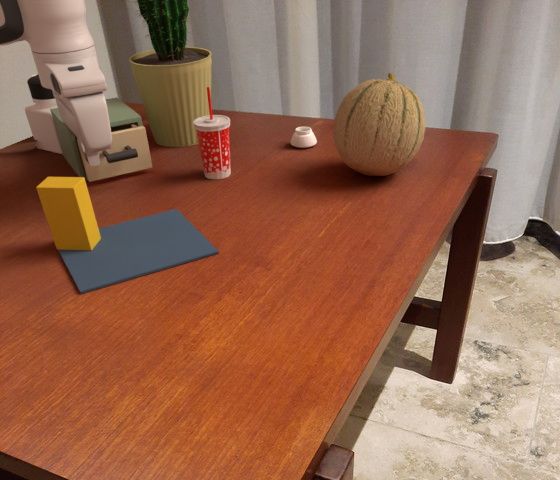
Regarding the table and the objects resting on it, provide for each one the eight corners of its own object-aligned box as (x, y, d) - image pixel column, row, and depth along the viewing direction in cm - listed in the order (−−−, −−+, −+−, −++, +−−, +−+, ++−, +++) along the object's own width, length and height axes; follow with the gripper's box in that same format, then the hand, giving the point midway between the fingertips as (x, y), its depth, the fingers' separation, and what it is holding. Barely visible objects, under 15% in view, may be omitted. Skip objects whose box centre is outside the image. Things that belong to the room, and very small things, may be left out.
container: (92, 142, 112) (74, 71, 104) (62, 155, 107) (40, 81, 99) (66, 137, 115) (46, 67, 107) (36, 148, 111) (13, 77, 102)
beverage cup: (227, 165, 100) (219, 80, 91) (240, 176, 96) (233, 88, 87) (195, 171, 98) (183, 85, 89) (207, 183, 94) (196, 94, 85)
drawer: (160, 175, 95) (153, 134, 91) (95, 190, 92) (84, 148, 87) (129, 145, 107) (121, 108, 103) (70, 158, 103) (60, 119, 99)
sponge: (91, 250, 77) (73, 188, 71) (56, 249, 77) (35, 187, 72) (101, 238, 80) (84, 177, 74) (67, 237, 80) (47, 176, 74)
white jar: (298, 139, 109) (285, 147, 106) (298, 123, 107) (285, 131, 104) (321, 142, 107) (308, 151, 104) (321, 126, 105) (308, 134, 102)
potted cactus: (201, 120, 120) (180, -53, 101) (233, 140, 110) (216, -49, 91) (133, 134, 115) (97, -46, 95) (160, 156, 105) (126, -41, 85)
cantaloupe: (324, 186, 91) (326, 88, 82) (340, 155, 102) (344, 64, 92) (415, 193, 88) (428, 91, 78) (422, 160, 99) (435, 66, 89)
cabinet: (150, 166, 101) (141, 116, 96) (82, 181, 97) (68, 130, 91) (126, 143, 111) (117, 97, 105) (63, 156, 107) (49, 109, 101)
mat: (80, 294, 69) (80, 291, 69) (53, 242, 80) (53, 240, 80) (219, 253, 76) (218, 250, 76) (177, 210, 86) (176, 208, 86)
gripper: (34, 59, 88) (60, 148, 97) (62, 87, 74) (89, 188, 83) (74, 54, 90) (96, 141, 99) (108, 80, 76) (130, 178, 85)
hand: (93, 163), depth 91 cm, fingers closed
